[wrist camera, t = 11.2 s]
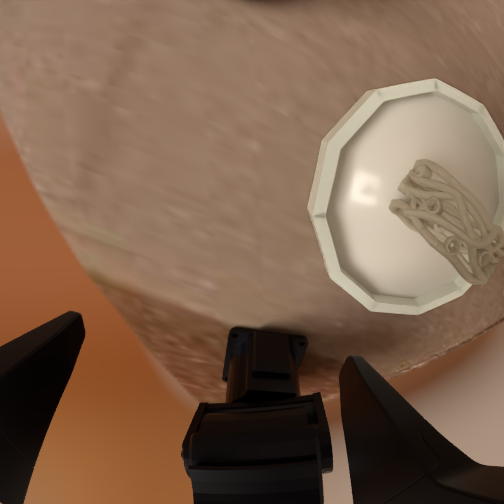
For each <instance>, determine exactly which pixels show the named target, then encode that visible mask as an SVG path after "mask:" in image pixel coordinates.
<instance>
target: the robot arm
mask: <svg viewBox="0 0 504 504" xmlns="http://www.w3.org/2000/svg"><path fill="white" fill-rule="evenodd" d="M233 334H237V335H233ZM84 338H85V328H84V324H83V319H82V315H81V314H80V313H78V312H75V311H68V312H66V313H64V314H62V315H60V316H58V317H57V318H54V319H53V320H51V321H49V322H47V323H45V324H43V325H41V326H39V327H37V328H35V329H33V330H31V331H29V332H27V333H25V334H23V335H22V336H20V337H18V338H16V339H14V340H12V341H10V342H8V343H6V344H4V345H2V346H1V347H0V502H1V503H2V504H23V503H24V500H25V496H26V493H27V489H28V486H29V482H30V479H31V476H32V473H33V470H34V468H33V467H34V466H35V463H36V460H37V457H38V455H39V452H40V449H41V446H42V444H43V441H44V438H45V436H46V433H47V430H48V428H49V425H50V423H51V420H52V418H53V415H54V413H55V411H56V408H57V406H58V404H59V401H60V399H61V397H62V394H63V392H64V390H65V387H66V385H67V383H68V381H69V379H70V376H71V374H72V372H73V369H74V366H75V363H76V360H77V357H78V355H79V352H80V349H81V346H82V344H83V341H84ZM302 341H303V342H302ZM300 342H302V343H300ZM307 345H308V340H307V338H306V337H305V336H297V335H288V334H279V333H270V332H262V331H254V330H247V329H239V328H232V329H231V330H230V331H229V336H228V343H227V349H226V356H225V362H224V369H223V376H222V380H223V381H225V382H227V392H226V402H225V403H212V404H208V403H207V402H206V403H200V404H199V406H198V409H197V411H196V412H195V415H194V417H193V420H192V422H191V424H190V427H189V429H188V431H187V434H186V436H185V439H184V441H183V444H182V449H183V450H182V451H181V457H182V458H183V460H184V466H185V470H186V472H187V475H188V476H189V477H190V478H191V481H192V488H193V498H194V504H324V496H323V480H322V473H323V474H324V473H330V472H332V471H333V454H332V445H331V437H330V431H329V426H328V422H327V418H326V414H325V410H324V406H323V402H322V398H321V394H320V392H317V393H313V394H312V395H306V396H301V395H300V387H299V379H298V369H299V366H300V363H301V361H302V358H303V356H304V353H305V350H306V348H307ZM227 377H228V378H227ZM339 384H340V402H341V417H342V424H343V429H344V437H345V443H346V450H347V457H348V463H349V471H350V479H351V487H352V495H353V504H504V467H499V466H487V465H482V464H479V463H477V462H475V461H473V460H472V459H471V458H469V457H468V456H467V455H466V454H464V453H463V452H462V451H461V450H459V449H458V448H457V447H456V446H454V445H453V444H452V443H451V442H450V441H448V440H447V439H446V438H445V437H444V436H442V435H441V434H440V433H439V432H438V431H437V430H436V429H435V428H434V427H433V426H432V425H431V424H430V423H429V422H428V421H426V420H425V419H424V418H423V417H422V416H421V415H420V414H419V413H418V412H417V411H416V410H415V409H414V408H413V407H412V406H411V405H410V404H409V403H408V402H407V401H406V400H405V399H404V398H403V397H402V396H401V395H400V394H399V393H398V392H397V391H396V390H395V389H394V388H393V387H392V386H391V385H390V384H389V383H388V382H387V381H386V380H385V379H384V378H383V377H382V376H381V375H380V374H379V373H378V372H377V371H376V370H375V369H374V368H373V367H372V366H371V365H370V364H369V363H368V362H367V361H366V360H364V359H363V358H362V357H361V356H359V355H349V356H348V357H347V359H346V361H345V363H344V365H343V367H342V369H341V371H340V374H339Z"/></svg>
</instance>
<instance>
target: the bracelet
mask: <svg viewBox="0 0 504 504" xmlns="http://www.w3.org/2000/svg"><path fill="white" fill-rule="evenodd" d="M431 170H432V171H433V172H434V173H436V174H437V175H438V176H440V177H441V178H442V179H444V180H445V181H446V182H447V183H448V184H446V183H444V182H441V181H437V180H433V179H431V177H432V174H433V173H432V171H431ZM397 189H398V190H399V191H400V192H401V193H403V194H404V195H406V193H407V192H408V195H409V197H410V205H409V204H408V203H407V202H406V201H404V200H403V199H392V200H391V203H390V205H389V206H388V207H389V210H390V211H391V213H393V214H395V215H396V216H398V217H399V218H400V220H401V221H402V222H403V223H404V224H405V225H406V226H407V227H408V228H409V229H411V230H413V231H414V232H417V233H419V234H420V235H421V236H422V237H423V238H424V239H425V240H426V241H427V243H428V244H429V245H430V246H431V247H432V248H434V249H435V250H436V251H437V252H439V253H440V254H441V255H442V256H444V257H445V258H446V259H447V260H448V261H449V262H450V263H451V264H452V265H453V267H454V268H455V269H456V271H457V272H458V273H459V275H460V276H461V277H462V278H463V279H464V280H465V281H467V282H468V283H470V284H472V285H485V284H487V283H488V280H489V278H490V277H491V276H492V274H493V273H494V271H495V269H496V267H495V266H494V265H493V264H496V263H497V262H499V261H500V257H503V256H504V250H503V248H504V231H503V229H502V228H501V226H498V225H496V224H493V223H492V222H491V220H490V217H489V215H488V213H487V211H486V208H485V207H484V205H483V204H482V202H481V201H480V200H479V199H478V198H477V197H476V196H475V195H474V194H473V193H472V192H470V191H469V190H468V189H467V188H466V187H465V186H464V185H462V184H461V183H460V182H459V181H458V180H457V179H456V178H454V177H453V176H452V175H451V174H450V173H449V172H448V171H446V170H445V169H444V168H443V167H441V166H440V165H438V164H437V163H435V162H433V161H430V160H427V159H421V160H419V159H418V160H416V162H415V164H414V166H413V169H412V170H410V171H409V174H407V175H406V177H405V178H403V180H402V181H401V183H400V185H399V186H398V188H397ZM436 190H437V191H436ZM426 200H427V201H426ZM441 200H450V201H454V202H456V203H457V206H458V209H457V208H456V207H455V206H454V205H452V204H451V203H449V202H447V201H441ZM444 208H447V209H449V210H450V211H451V212H452V213H453V214H454V215H455V216H456V217H455V216H454V215H452V214H450V213H448V212H446V211H444V210H443V209H444ZM468 212H469V213H470V215H471V216H472V217H473V219H474V220H475V222H472V221H470V219H469V216H468ZM440 215H442V216H444V217H445V218H444V217H442V216H440ZM446 218H447V219H449V220H451V221H453V222H455V223H457V224H459V225H461V226H463V227H464V230H465V231H463V230H462V229H461V228H459V227H458V226H456V225H455V224H454V223H452V222H451V221H449V220H447V219H446ZM423 220H426V221H429V222H432V223H433V227H431V226H429V225H428V224H426V223H425V222H424V221H423ZM437 225H439V226H440V227H439V228H438V227H437ZM444 229H446V230H447V231H449V232H451V233H452V234H453V235H454V236H449V237H447V236H446V235H445V234H444V233H442V231H443V230H444ZM474 229H477V230H480V233H481V236H480V235H479V234H478V233H476V232H475V231H474ZM493 241H495V242H496V243H494V242H493ZM462 253H463V254H467V255H468V257H469V262H468V261H467V260H466V259H465V258H464V256H463V255H462ZM492 263H493V264H492Z"/></svg>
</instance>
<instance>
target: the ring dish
mask: <svg viewBox="0 0 504 504" xmlns="http://www.w3.org/2000/svg"><path fill="white" fill-rule="evenodd" d="M418 159H419V160H421V159H427V160H430V161H433V162H435V163H437V164H438V165H440V166H441V167H443V168H444V169H445V170H446V171H448V172H449V173H450V174H451V175H452V176H453V177H454V178H456V179H457V180H458V181H459V182H460V183H461V184H462V185H464V186H465V187H466V188H467V189H468V190H469V191H470V192H472V193H473V194H474V195H475V196H476V197H477V198H478V199H479V200H480V201H481V202H482V204H483V205H484V207H485V208H486V211H487V213H488V215H489V217H490V220H491V222H492V223H493V224H496V225H498V226H501V228H502V229H503V231H504V140H503V138H502V136H501V134H500V132H499V130H498V128H497V127H496V125H495V123H494V121H493V120H492V118H491V116H490V115H489V113H488V111H487V110H486V108H485V106H484V105H483V104H481V103H480V102H478V101H476V100H475V99H473V98H471V97H469V96H468V95H466V94H464V93H462V92H461V91H459V90H457V89H455V88H453V87H451V86H449V85H447V84H446V83H444V82H442V81H440V80H438V79H427V80H421V81H415V82H409V83H404V84H398V85H393V86H388V87H384V88H379V89H374V90H370V91H366V92H365V93H364V94H363V95H362V97H361V98H360V99H359V100H358V101H357V102H356V103H355V104H354V105H353V106H352V107H351V108H350V110H349V111H348V112H347V113H346V114H345V115H344V116H343V117H342V118H341V119H340V121H339V122H338V123H337V124H336V125H335V126H334V127H333V128H332V129H331V130H330V132H329V133H328V134H327V135H326V136H325V137H324V138H323V139H322V141H321V146H320V151H319V156H318V161H317V166H316V170H315V175H314V180H313V184H312V189H311V193H310V198H309V202H308V207H307V209H308V212H309V215H310V218H311V221H312V224H313V227H314V230H315V234H316V237H317V240H318V243H319V247H320V250H321V253H322V257H323V260H324V263H325V267H326V269H327V272H328V274H329V276H330V278H331V279H332V280H333V281H334V282H336V283H337V284H338V285H339V286H341V287H342V288H343V289H344V290H345V291H347V292H348V293H349V294H350V295H352V296H353V297H354V298H355V299H356V300H358V301H359V302H360V303H361V304H362V305H364V306H365V307H366V308H367V309H368V310H370V311H374V312H385V313H396V314H409V315H419V314H422V313H424V312H426V311H429V310H431V309H433V308H436V307H438V306H440V305H442V304H445V303H447V302H449V301H451V300H453V299H455V298H457V297H460V296H462V295H463V294H464V293H465V292H466V291H467V289H468V288H469V287H470V286H471V285H472V284H470V283H468V282H467V281H465V280H464V279H463V278H462V277H461V276H460V275H459V273H458V272H457V271H456V269H455V268H454V267H453V265H452V264H451V263H450V262H449V261H448V260H447V259H446V258H445V257H444V256H442V255H441V254H440V253H439V252H437V251H436V250H435V249H434V248H432V247H431V246H430V245H429V244H428V243H427V241H426V240H425V239H424V238H423V237H422V236H421V235H420V234H419V233H417V232H414V231H413V230H411V229H409V228H408V227H407V226H406V225H405V224H404V223H403V222H402V221H401V220H400V218H399V217H398V216H396V215H395V214H393V213H391V211H390V210H389V207H388V206H389V205H390V203H391V200H392V199H403V200H404V201H406V202H407V203H408V204H409V205H410V197H409V195H408V192H407V193H406V195H404V194H403V193H401V192H400V191H399V190H398V189H397V188H398V186H399V185H400V183H401V181H402V180H403V178H405V177H406V175H407V174H409V171H410V170H412V169H413V166H414V164H415V162H416V160H418ZM431 171H432V170H431ZM432 173H433V174H432V177H431V179H433V180H437V181H441V182H444V183H446V184H448V183H447V182H446V181H445V180H444V179H442V178H441V177H440V176H438V175H437V174H436V173H434V172H433V171H432ZM436 191H437V190H436ZM426 201H427V200H426ZM441 201H447V202H449V203H451V204H452V205H454V206H455V207H456V208H457V209H458V206H457V203H456V202H454V201H450V200H441ZM443 210H444V211H446V212H448V213H450V214H452V215H454V214H453V213H452V212H451V211H450V210H449V209H447V208H444V209H443ZM440 216H442V215H440ZM454 216H455V215H454ZM468 216H469V219H470V221H472V222H475V220H474V219H473V217H472V216H471V215H470V213H469V212H468ZM442 217H444V216H442ZM455 217H456V216H455ZM444 218H445V217H444ZM446 219H447V218H446ZM447 220H449V219H447ZM423 221H424V222H425V223H426V224H428V225H429V226H431V227H433V223H432V222H429V221H426V220H423ZM449 221H451V220H449ZM451 222H452V223H454V224H455V225H456V226H458V227H459V228H461V229H462V230H463V231H465V230H464V227H463V226H461V225H459V224H457V223H455V222H453V221H451ZM437 227H438V228H439V227H440V226H439V225H437ZM474 231H475V232H476V233H478V234H479V235H480V236H481V233H480V230H477V229H474ZM442 233H444V234H445V235H446V236H447V237H449V236H454V235H453V234H452V233H451V232H449V231H447V230H446V229H444V230H443V231H442ZM493 242H494V243H496V242H495V241H493ZM462 255H463V256H464V258H465V259H466V260H467V261H468V262H469V257H468V255H467V254H463V253H462Z"/></svg>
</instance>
